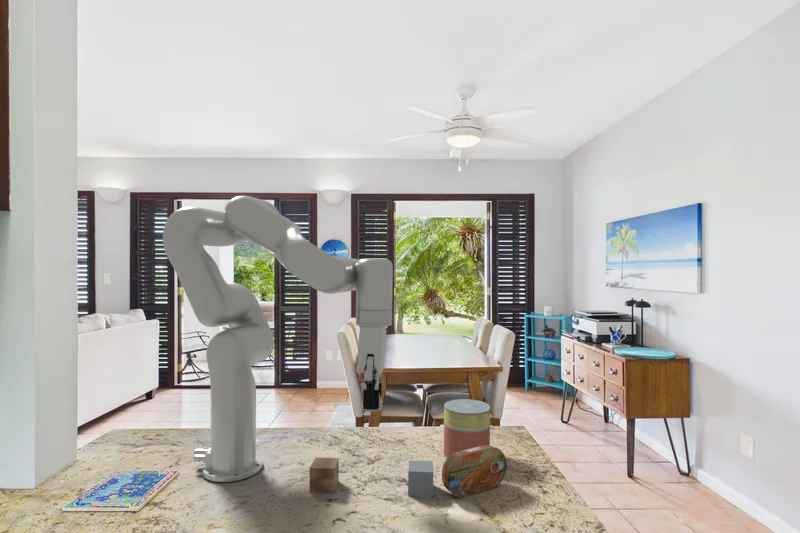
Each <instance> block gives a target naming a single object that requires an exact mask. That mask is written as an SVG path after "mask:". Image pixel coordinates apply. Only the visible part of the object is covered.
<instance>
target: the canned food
mask: <svg viewBox="0 0 800 533" xmlns="http://www.w3.org/2000/svg"><path fill="white" fill-rule="evenodd" d="M483 445H489V446H491V405H490V404H488V403H486V402H485V401H481V400H477V399H470V398H469V399H468V398H455V399H450V400H448V401H446V402H444V403H443V453H442V454H443V457H444V458H445V459H447V458H448V457H449V456H450V455H451V454H453V453H455V452H458V451H463V450H467V449H471V448H475V447H479V446H483Z"/></svg>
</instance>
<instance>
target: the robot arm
mask: <svg viewBox="0 0 800 533" xmlns="http://www.w3.org/2000/svg"><path fill="white" fill-rule="evenodd" d="M246 242H247V243H248V242H251V243H252V244H255V245H256V246H258V247H260V249H262V250H264V251H265V252H267V253H269V254H270V255H271V256H273V257H274V258H275V259H276V260H277V261H278V263H280V264H281V265H282V267H283V268H284V269H285V270H287V271H288V272H289V274H291V275H292V276H294V277H295V278H297V279H298V280H300V281H302V282H303V283H305V284H306V285H308V286H309V287H311V288H312V289H314V290H316V291H318V292H321V293H323V294H327V295H329V294H330V295H331V294H332V295H333V294H338V293H346V292H353V291H354V292H355V294H356V295H355V325H356V326H359V334H358V346H357V365H356V366H357V367H356V374H358V376H361V374H363V373H364V375H363V376H364V380H363V390H362V402H363V403H362V405H363V408H362V410H364V409H373V410H377V409H379V394H380V396H381V398H382V396H383V395H382V385H383V384H382V373H383V370H384V368H385V361H386V351H387V350H386V348H387V344H386V343H387V327H390V326H392V324H393V281H394V280H393V274H394V273H393V272H394V269H393V268H394V267H393V263H392V261H391V260H389V259H387V258H375V257H373V258H361V259H357V258H353V257H352V258H351V257H345V256H334V255H331V254H330V253H328V252H326V251H324V250H323V249H321V248H319V247H318V246H317V245H315V244H313V243H312V242H310V241H309V240H308V239H307V238H305V237H304V236H303V234H302V233H301V227H300V226H299V225H298V224H297V223H295V222H294V221H293V220H290V219H289V218H288V217H285V216H284V215H283V214H281V213H280V212H279V210H278V209H277V207H276V206H275V205H274V204H272V203H271V202H270V201H266V200H264V199H260V198H257V197H254V196H250V195H238V196H235V197H233V198H231V200H228V202H227V203H226V204H225V207H224V210H223V211H219V210H213V209H209V208H204V207H198V206H185V207H180V208H179V209H175V211H174V212H172V213H171V214H170V215H169V216H168V218H167V220H166V222H165V224H164V227H163V232H162V244H163V248H164V252H165V254H166V256H167V259H168V260H169V262H170V265H171V266H172V267H173V269H174V271H175V273H176V275H177V277H178V280H179V281H180V283H181V286H182V288H183V291H184V293H185V295H186V297H187V300H188V302H189V304H190V306H191V309H192V310H193V314H194V315H195V317H196V318H197V321H198V322H199V323H200V325H202V326H205V327H208V328H216V327H222V326H228V327H229V328H227V329H224V330H222V331H219V332H218V333H217V334H215V335H214V336H212V338H211V339H210V341H209V342H208V345H207V347H206V353H205V354H206V364H207V368H208V374H209V382H210V445H209V446H210V447H209V448H195V449H194V452H193V456H194V457H193V458H194V459H193V461H194V462H204V463H205V464H204V466H203V467H202V477H204V478H205V479H206V480H208V481H211V482H215V483H216V482H217V483H229V482H231V483H232V482H237V481H241V480H244V479H247V478H250V477H252V476H254V475H256V474H257V473H260V471H261V470H262V469H263V460H264V459H263V458H262V457H261V456H259V455H258V454H256V450H257V449H256V448H257V444H256V443H257V441H256V439H257V432H256V431H257V429H256V428H257V387H256V386H257V385H256V380H255V378H254V373H253V370H252V366H253V365H257V364H258V363H261V362H263V361H265V360H267V359H268V357H270V356H271V355H272V353H273V351H274V347H275V339H274V338H275V337H274V334H273V331H272V330H271V327H270V325H269V323H268V321H267V318H266V316H265V314H264V312H263V309H262V307H261V305H260V304H259V301H258V299H257V297H256V296H255V294H254V293H253V292H252V290H250V289H249V288H248V287H247V286H244V285H243V284H238V283H227V282H226V280H225V278H224V277H223V275H222V273H221V269H220V268H219V266H218V264H217V263H216V261H215V259H214V258H213V257H212V256H211V255H210V254H209V253H208V251H207V250H206V249H205V246H208V247H220V248H221V247H230V246H233V245H239V244H243V243H246ZM373 371H376V374H373ZM380 374H381V376H380V377H379V382H380V383H379V389H378V375H380ZM373 377H375V380H374V379H373Z"/></svg>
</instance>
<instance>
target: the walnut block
mask: <svg viewBox="0 0 800 533" xmlns="http://www.w3.org/2000/svg"><path fill="white" fill-rule="evenodd" d="M339 462H340V459H339V457H315V458H314V459H313V461H312V463H311V465H310V466H309V488H308V489H309V490H308V492H309V493H316V494H317V493H321V494H323V493H324V494H335V490H336V489H337V486H338V484H339V481H340V480H339V478H340V477H339V476H340V475H339V473H340V469H339V468H340V465H339V464H340V463H339Z"/></svg>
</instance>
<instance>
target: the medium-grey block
mask: <svg viewBox="0 0 800 533" xmlns="http://www.w3.org/2000/svg"><path fill="white" fill-rule="evenodd" d="M407 470H408V471H407V473H408V474H407V475H408V476H407V483H408V484H407V496H408V497H422V498H424V497H425V498H426V497H427V498H434V461H433V460H432V461H430V460H408V469H407Z"/></svg>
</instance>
